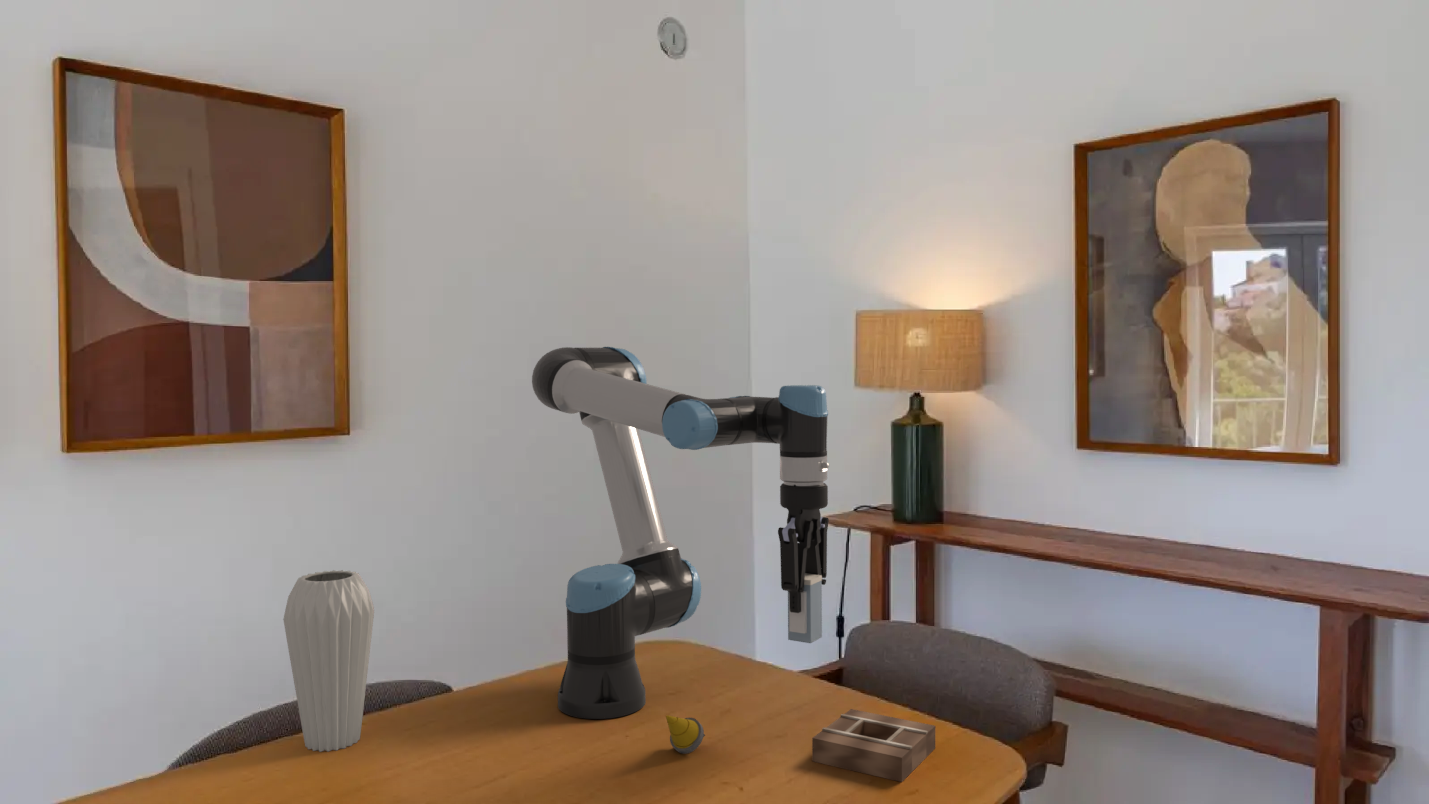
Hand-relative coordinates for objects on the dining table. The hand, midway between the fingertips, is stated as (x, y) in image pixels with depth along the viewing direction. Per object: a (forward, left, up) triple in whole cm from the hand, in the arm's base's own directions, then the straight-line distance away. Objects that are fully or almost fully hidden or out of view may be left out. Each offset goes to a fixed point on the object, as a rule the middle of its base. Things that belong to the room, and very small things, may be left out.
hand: (804, 628), depth 157 cm
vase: (-62, -42, -17) cm, 77 cm away
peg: (0, 0, -2) cm, 2 cm away
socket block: (+13, -3, -17) cm, 21 cm away
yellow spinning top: (-12, -17, -17) cm, 27 cm away
